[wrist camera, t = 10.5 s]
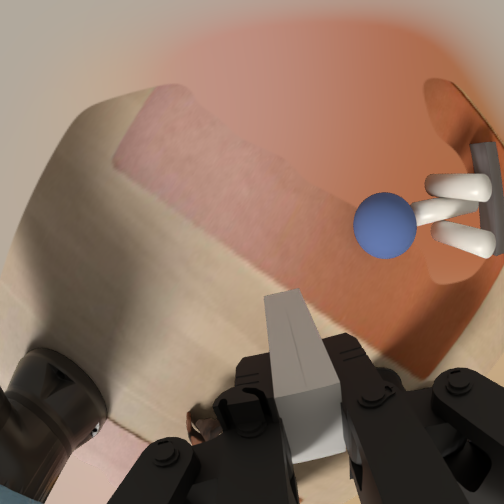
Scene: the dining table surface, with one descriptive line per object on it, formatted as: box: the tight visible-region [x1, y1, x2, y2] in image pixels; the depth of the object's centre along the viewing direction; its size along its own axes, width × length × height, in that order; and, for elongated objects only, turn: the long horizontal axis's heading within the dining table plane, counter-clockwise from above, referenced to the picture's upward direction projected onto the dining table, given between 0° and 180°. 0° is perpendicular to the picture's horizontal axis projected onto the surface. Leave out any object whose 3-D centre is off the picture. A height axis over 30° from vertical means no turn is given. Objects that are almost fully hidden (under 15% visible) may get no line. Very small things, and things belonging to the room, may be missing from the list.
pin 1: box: [425, 174, 492, 202], centre depth 23 cm, size 2×2×8 cm
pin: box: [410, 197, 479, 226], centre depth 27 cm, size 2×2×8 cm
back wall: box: [470, 142, 504, 256], centre depth 26 cm, size 2×13×3 cm, turn 13°
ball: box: [353, 192, 417, 259], centre depth 25 cm, size 6×6×6 cm
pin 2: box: [431, 220, 496, 258], centre depth 24 cm, size 2×2×8 cm
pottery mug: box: [186, 412, 222, 446], centre depth 31 cm, size 12×10×8 cm
